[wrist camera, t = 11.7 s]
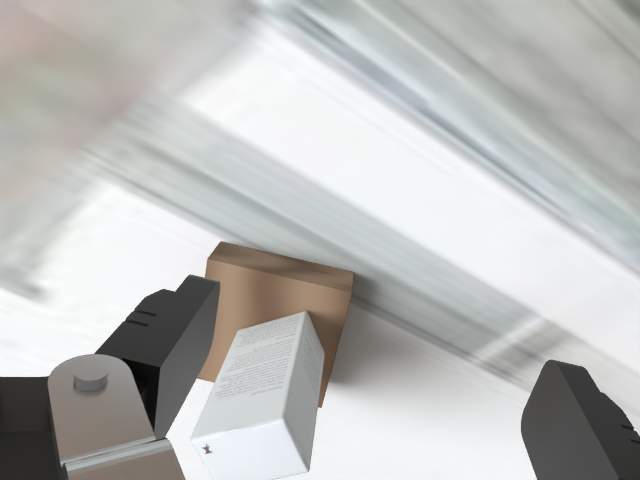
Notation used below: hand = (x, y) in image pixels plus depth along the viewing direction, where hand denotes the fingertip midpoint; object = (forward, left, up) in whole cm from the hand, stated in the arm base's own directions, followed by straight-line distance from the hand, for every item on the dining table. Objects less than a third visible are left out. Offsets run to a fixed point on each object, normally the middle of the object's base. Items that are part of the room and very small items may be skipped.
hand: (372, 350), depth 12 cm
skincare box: (+3, +16, -23) cm, 29 cm away
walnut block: (+4, +16, -27) cm, 32 cm away
